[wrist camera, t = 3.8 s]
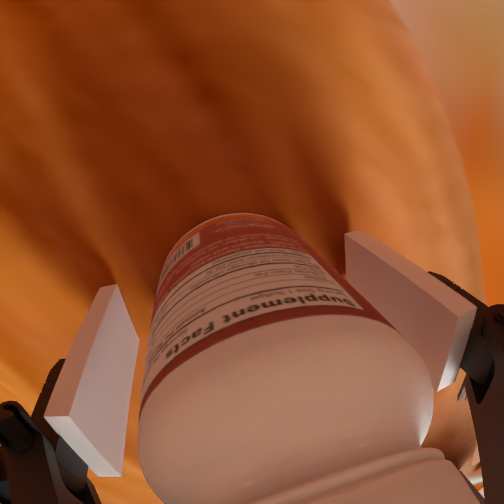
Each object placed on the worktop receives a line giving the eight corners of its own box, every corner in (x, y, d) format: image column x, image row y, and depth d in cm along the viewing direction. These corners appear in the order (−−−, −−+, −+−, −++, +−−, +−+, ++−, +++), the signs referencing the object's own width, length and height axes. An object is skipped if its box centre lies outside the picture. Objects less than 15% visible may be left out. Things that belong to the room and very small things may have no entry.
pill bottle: (306, 335, 14) (429, 549, 4) (173, 353, 13) (190, 613, 3) (312, 202, 12) (586, 399, 2) (149, 215, 11) (40, 585, 1)
